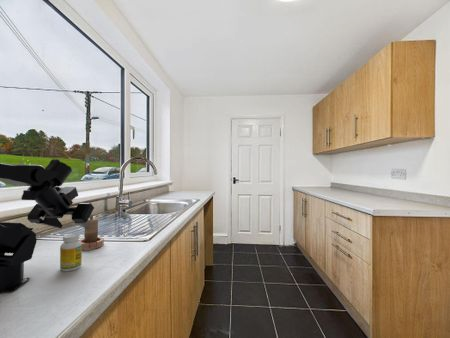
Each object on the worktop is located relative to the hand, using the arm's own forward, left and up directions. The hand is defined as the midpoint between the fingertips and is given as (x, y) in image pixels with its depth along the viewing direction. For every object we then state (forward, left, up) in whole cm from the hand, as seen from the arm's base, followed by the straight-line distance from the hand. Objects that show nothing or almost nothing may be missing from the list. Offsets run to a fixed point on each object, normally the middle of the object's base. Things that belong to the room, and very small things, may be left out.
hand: (74, 227), depth 82 cm
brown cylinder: (+8, -2, -9) cm, 12 cm away
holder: (+8, -2, -9) cm, 12 cm away
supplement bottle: (-12, -4, -9) cm, 16 cm away
